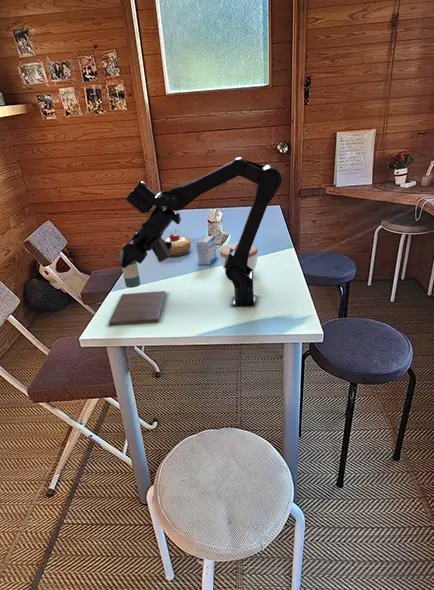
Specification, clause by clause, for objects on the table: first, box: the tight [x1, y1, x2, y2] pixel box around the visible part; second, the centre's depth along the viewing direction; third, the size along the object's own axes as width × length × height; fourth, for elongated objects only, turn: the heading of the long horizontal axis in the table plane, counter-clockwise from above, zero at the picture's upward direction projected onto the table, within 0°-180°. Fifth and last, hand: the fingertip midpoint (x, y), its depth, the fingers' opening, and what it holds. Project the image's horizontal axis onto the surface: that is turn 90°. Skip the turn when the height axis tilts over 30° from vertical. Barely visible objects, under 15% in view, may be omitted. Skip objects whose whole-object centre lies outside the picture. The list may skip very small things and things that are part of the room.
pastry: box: [162, 229, 191, 257], centre depth 175 cm, size 12×12×9 cm
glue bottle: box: [119, 243, 141, 289], centre depth 128 cm, size 4×4×12 cm
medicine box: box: [196, 235, 217, 266], centre depth 163 cm, size 8×4×9 cm, turn 161°
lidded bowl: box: [219, 242, 258, 271], centre depth 148 cm, size 13×13×11 cm
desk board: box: [108, 290, 167, 326], centre depth 132 cm, size 20×14×1 cm
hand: (124, 264), depth 128 cm, fingers closed on glue bottle, 4 cm apart
